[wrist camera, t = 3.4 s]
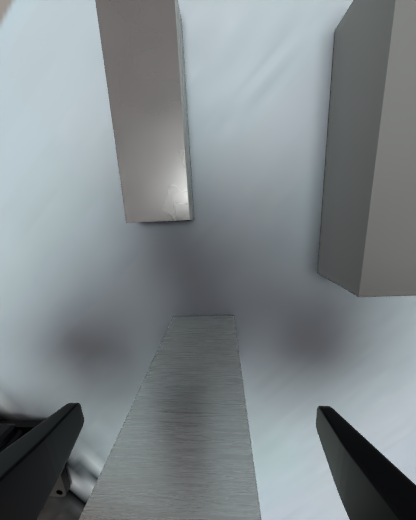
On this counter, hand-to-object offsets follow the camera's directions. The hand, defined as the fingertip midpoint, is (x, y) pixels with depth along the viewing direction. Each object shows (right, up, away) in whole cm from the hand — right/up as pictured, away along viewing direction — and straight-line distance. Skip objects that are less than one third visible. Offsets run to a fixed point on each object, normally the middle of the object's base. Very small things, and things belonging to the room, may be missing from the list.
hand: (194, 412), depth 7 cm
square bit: (0, +1, +4) cm, 4 cm away
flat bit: (-2, +12, +2) cm, 12 cm away
